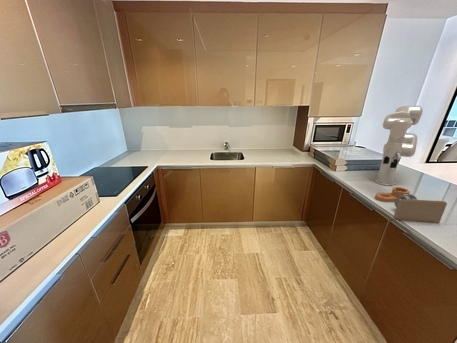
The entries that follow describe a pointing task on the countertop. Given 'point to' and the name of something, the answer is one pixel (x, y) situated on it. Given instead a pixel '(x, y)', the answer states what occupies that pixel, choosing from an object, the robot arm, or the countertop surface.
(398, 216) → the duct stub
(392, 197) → the bracket
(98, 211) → the countertop surface
